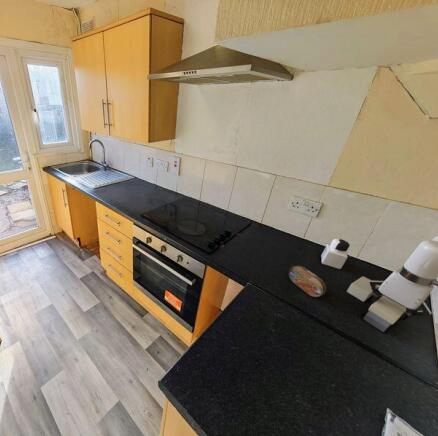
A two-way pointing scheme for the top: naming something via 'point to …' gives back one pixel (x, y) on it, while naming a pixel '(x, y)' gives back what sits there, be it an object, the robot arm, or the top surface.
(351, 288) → the beige block
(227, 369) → the top surface
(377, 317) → the grey block
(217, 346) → the top surface
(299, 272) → the tin
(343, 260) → the container
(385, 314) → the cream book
